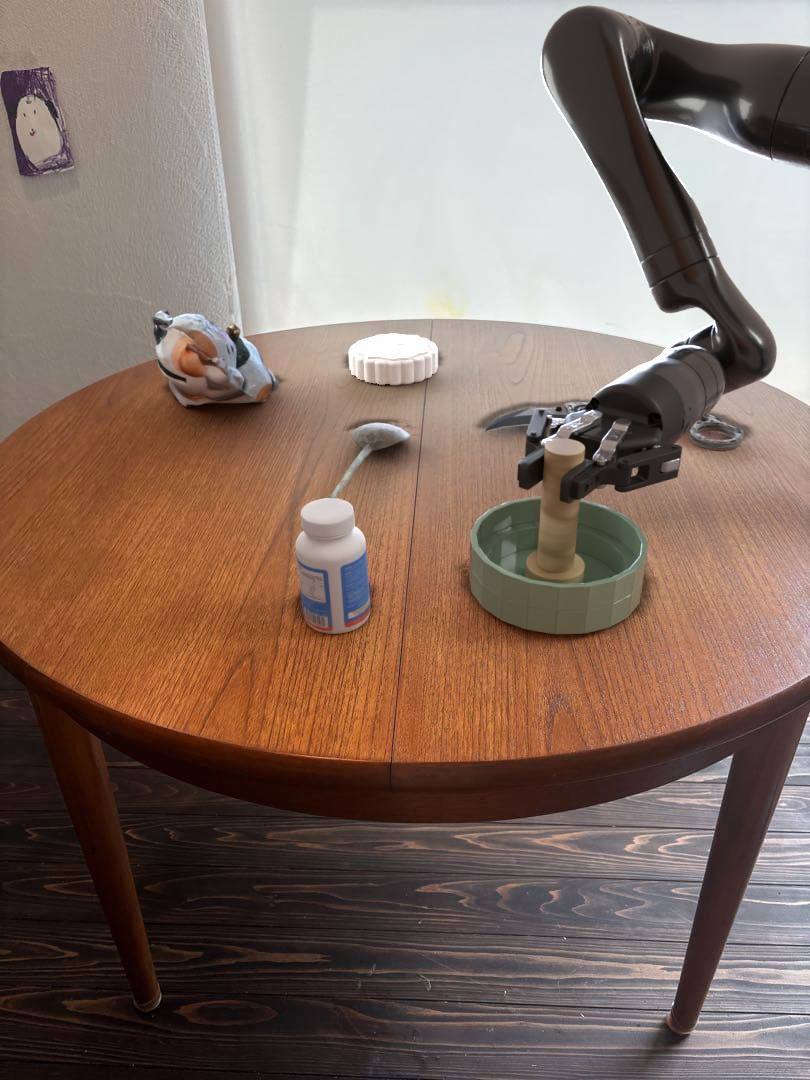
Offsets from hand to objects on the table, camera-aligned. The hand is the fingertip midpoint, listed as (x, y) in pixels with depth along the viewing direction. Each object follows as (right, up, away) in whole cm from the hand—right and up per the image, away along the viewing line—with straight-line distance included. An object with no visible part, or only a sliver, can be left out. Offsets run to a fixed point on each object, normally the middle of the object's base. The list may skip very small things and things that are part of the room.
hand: (544, 484), depth 65 cm
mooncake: (-12, +19, +53) cm, 57 cm away
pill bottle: (-16, -10, +5) cm, 20 cm away
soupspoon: (-15, +2, +26) cm, 31 cm away
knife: (+13, +8, +35) cm, 39 cm away
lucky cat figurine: (-34, +13, +45) cm, 58 cm away
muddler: (+2, -7, +7) cm, 10 cm away
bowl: (+2, -8, +8) cm, 11 cm away
